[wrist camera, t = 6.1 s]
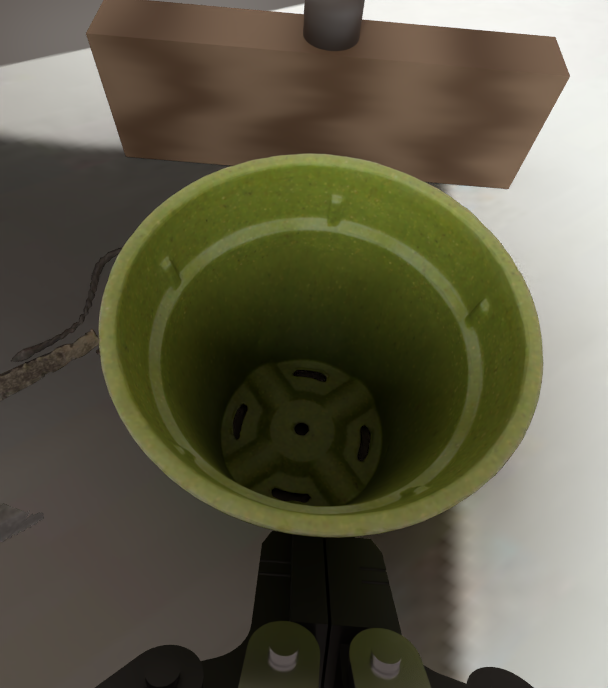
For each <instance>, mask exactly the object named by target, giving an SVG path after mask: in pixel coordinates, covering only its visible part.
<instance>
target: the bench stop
mask: <svg viewBox="0 0 608 688" xmlns="http://www.w3.org/2000/svg"><path fill="white" fill-rule="evenodd" d="M364 1H365V0H305V5H304V14H294V13H282V12H271V11H260V10H249V9H238V8H227V7H216V6H205V5H194V4H182V3H171V2H160V1H149V0H104V1H103V3H102V4H101V6H100V8H99V10H98V12H97V14H96V15H95V17H94V19H93V21H92V23H91V25H90V27H89V29H88V30H87V32H86V35H87V38H88V41H89V44H90V48H91V51H92V54H93V57H94V60H95V63H96V66H97V69H98V72H99V75H100V78H101V82H102V85H103V88H104V91H105V94H106V97H107V100H108V103H109V106H110V109H111V112H112V115H113V119H114V122H115V125H116V128H117V131H118V134H119V137H120V140H121V143H122V146H123V149H124V152H125V156H126V157H136V158H148V159H160V160H172V161H184V162H196V163H207V164H219V165H231V166H235V165H238V164H241V163H244V162H247V161H251V160H255V159H261V158H268V157H273V156H280V155H294V154H330V155H336V156H346V157H351V158H357V159H362V160H367V161H371V162H375V163H378V164H381V165H384V166H387V167H390V168H393V169H395V170H398V171H401V172H403V173H406V174H408V175H411V176H413V177H415V178H417V179H419V180H421V181H423V182H432V183H444V184H456V185H468V186H480V187H492V188H503V189H509V187H510V185H511V183H512V181H513V180H514V178H515V176H516V174H517V172H518V171H519V169H520V167H521V165H522V163H523V161H524V160H525V158H526V156H527V154H528V152H529V150H530V149H531V147H532V145H533V143H534V141H535V139H536V138H537V136H538V134H539V132H540V130H541V128H542V127H543V125H544V123H545V121H546V119H547V118H548V116H549V114H550V112H551V110H552V108H553V107H554V105H555V103H556V101H557V99H558V97H559V96H560V94H561V92H562V90H563V88H564V86H565V85H566V83H567V81H568V79H569V77H570V75H569V72H568V69H567V67H566V64H565V61H564V59H563V56H562V54H561V51H560V48H559V46H558V43H557V40H556V38H555V37H549V36H538V35H527V34H516V33H505V32H494V31H483V30H471V29H460V28H449V27H438V26H427V25H416V24H405V23H394V22H383V21H371V20H362V15H363V8H364Z"/></svg>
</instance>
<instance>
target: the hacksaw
mask: <svg viewBox="0 0 608 688" xmlns="http://www.w3.org/2000/svg"><path fill="white" fill-rule="evenodd" d="M121 250H122V248H118V249H116V250H113V251H111V252H108V253H107V254H106V255H105V256H104V257H102V258H100V260H99V262H98V263H96V265H95V270H94V271H93V273H92V277H91V280H92V281H91V283H90V290H89V295H88V299H87V300H86V306H85V308H84V314H81V315H80V318H79V322H76V323H74V324H73V325H72V327H71V328H69V329H66V330H65V331H64V332H63V333H62V334H59V335H57V336H55V337H54V338H52V339H50V340H47V341H45V342H43V343H40V344H38V345H35V346H33V347H30V348H26V349H23V350H21V351H20V352H18V353H17V354H16V355H15V356H14V357H13V358H12V360H11V361H13V362H19V361H23V360H26V359H28V358H30V357H31V356H32V355H33V354H34V353H37V352H40V351H41V350H43V349H45V348H46V347H48V346H51V345H53V344H54V343H55V342H57V341H58V340H60V339H63V338H64V337H66V336H67V335H68V334H69V333H73V332H74V331H75V330H76V328H77V327H78V326H79V325H80V324H82V323H83V321H84V319H85V316H86V315H87V314H88V310H89V308H90V307H91V306H92V300H93V299H94V296H95V292H96V290H97V285H98V282H99V275H100V274H101V271H102V269H103V267H104V265H105V263H107V262H109V261H110V259H111V258H113V257H115V256H116V255H118V254H119V253H120V251H121ZM97 345H99V338H98V337H97V335H96V333H95V331H94V330H93V329H91V331H90V332H87V333H85V335H84V336H82V337H80V338H79V339H77V340H76V341H75V342H74V343H73V344H65V345H62V346H60V347H57V348H56V349H55V350H54V351H52V352H50V353H48V354H45V355H42V356H40V357H38V358H35V359H33V360H31V361H29V362H25V363H24V364H22V365H20V366H18V367H15V368H13V369H11V370H9V371H7V372H4V373H2V374H0V401H2V400H4V399H5V398H7V397H9V396H11V395H13V394H15V393H17V392H18V391H20V390H22V389H24V388H26V387H28V386H30V385H32V384H33V383H35V382H37V381H38V380H40V379H41V378H43V377H44V376H45V374H48V373H50V372H55V371H57V370H59V369H60V368H62V367H64V366H65V365H66V364H68V363H69V362H70V361H71V360H75V359H76V358H80V357H82V356H84V355H86V354H87V353H88V352H89V351H91V350H92V349H93V348H94V347H95V346H97ZM99 349H100V348H99ZM99 349H98V350H96V353H97V354H100V351H99ZM100 357H101V356H100ZM29 512H30V511H28V512H24V511H22V510H19V509H17V508H14V507H11V506H9V505H6V504H2V505H0V541H5V539H6V538H11V537H12V536H13V535H17V534H18V533H19V532H20V531H25V529H26V528H31V525H35V524H37V523H38V521H41V520H42V519H43V518H44V516H43V513H37V514H35V515H33V514H31V515H30V516H29V517H28V518H27V516H28V514H29ZM26 518H27V519H26ZM25 519H26V520H25Z"/></svg>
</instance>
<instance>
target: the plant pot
mask: <svg viewBox="0 0 608 688" xmlns="http://www.w3.org/2000/svg"><path fill="white" fill-rule="evenodd" d="M99 348H100V356H101V365H102V370H103V374H104V378H105V381H106V384H107V388H108V391H109V394H110V396H111V399H112V401H113V403H114V405H115V407H116V410H117V412H118V414H119V416H120V418H121V419H122V421H123V423H124V424H125V426H126V428H127V429H128V431H129V432H130V434H131V436H132V437H133V439H134V440H135V441H136V443H137V444H138V445H139V447H140V448H141V449H142V451H143V452H144V453H145V454H146V455H147V456H148V457H149V458H150V459H151V460H152V461H153V462H154V463H155V464H156V465H157V466H158V467H159V468H160V469H161V470H162V471H163V472H164V473H165V474H166V475H167V476H168V477H169V478H170V479H171V480H173V481H174V482H175V483H176V484H178V485H179V486H180V487H182V488H183V489H184V490H186V491H187V492H189V493H190V494H192V495H193V496H195V497H196V498H197V499H199V500H201V501H202V502H204V503H206V504H208V505H210V506H212V507H214V508H215V509H217V510H219V511H221V512H223V513H225V514H227V515H229V516H232V517H234V518H237V519H240V520H242V521H245V522H248V523H250V524H254V525H257V526H260V527H263V528H266V529H271V530H275V531H279V532H284V533H289V534H296V535H303V536H314V537H336V538H339V537H356V536H364V535H372V534H380V533H385V532H389V531H393V530H397V529H401V528H404V527H408V526H411V525H414V524H417V523H419V522H422V521H425V520H427V519H429V518H431V517H434V516H436V515H438V514H440V513H442V512H444V511H446V510H448V509H450V508H451V507H453V506H455V505H457V504H458V503H460V502H461V501H463V500H464V499H466V498H467V497H469V496H470V495H472V494H473V493H475V492H476V491H477V490H478V489H479V488H481V487H482V486H483V485H484V484H485V483H487V482H488V481H489V480H490V479H491V478H492V477H494V476H495V475H496V474H497V472H498V471H499V470H500V469H501V468H502V467H503V466H504V465H505V463H506V462H507V461H508V459H509V458H510V457H511V456H512V454H513V453H514V451H515V450H516V449H517V447H518V446H519V444H520V443H521V441H522V439H523V438H524V435H525V433H526V431H527V429H528V427H529V425H530V422H531V420H532V417H533V415H534V412H535V409H536V406H537V403H538V399H539V394H540V388H541V383H542V375H543V353H542V338H541V331H540V326H539V320H538V315H537V312H536V308H535V305H534V302H533V299H532V297H531V294H530V291H529V289H528V287H527V285H526V283H525V280H524V278H523V276H522V274H521V273H520V272H519V271H518V269H517V267H516V265H515V264H514V262H513V260H512V258H511V257H510V255H509V254H508V253H507V251H506V250H505V249H504V247H503V245H502V244H501V243H500V242H499V240H498V239H497V238H496V237H495V236H494V235H493V234H492V233H491V231H489V230H488V229H487V228H486V227H485V226H484V225H483V224H482V223H481V222H480V221H479V220H478V218H477V217H476V216H475V215H473V214H472V213H471V212H470V211H469V210H468V209H467V208H465V207H464V206H462V205H461V204H460V203H458V202H457V201H455V200H454V199H453V198H452V197H450V196H448V195H447V194H445V193H443V192H442V191H440V190H439V189H437V188H435V187H433V186H431V185H429V184H428V183H425V182H423V181H421V180H419V179H417V178H415V177H413V176H411V175H408V174H406V173H403V172H401V171H398V170H395V169H393V168H390V167H387V166H384V165H381V164H378V163H375V162H371V161H367V160H362V159H357V158H351V157H346V156H336V155H330V154H294V155H280V156H273V157H268V158H261V159H255V160H251V161H247V162H244V163H241V164H238V165H235V166H231V167H227V168H224V169H221V170H219V171H217V172H214V173H212V174H209V175H207V176H205V177H203V178H201V179H199V180H197V181H195V182H193V183H191V184H190V185H188V186H186V187H185V188H183V189H182V190H180V191H179V192H177V193H176V194H174V195H173V196H171V197H170V198H168V199H167V200H166V201H164V202H163V203H162V204H161V205H160V206H159V207H157V208H156V209H155V210H154V211H153V212H152V213H151V214H150V215H149V216H148V217H147V218H146V219H145V220H144V221H143V222H142V223H141V224H140V225H139V227H138V228H137V229H136V231H135V232H134V233H133V234H132V236H131V237H130V238H129V239H128V240H127V242H126V243H125V245H124V247H123V248H122V250H121V251H120V253H119V254H118V256H117V258H116V261H115V263H114V265H113V267H112V270H111V273H110V276H109V279H108V282H107V285H106V287H105V290H104V294H103V297H102V303H101V308H100V314H99ZM296 370H309V371H315V372H319V373H322V374H323V375H324V376H326V378H327V381H325V382H323V381H318V380H315V379H313V378H310V377H303V376H302V377H300V376H293V373H295V372H296ZM243 404H244V405H247V407H248V410H247V412H246V414H245V417H244V420H243V423H242V427H241V432H240V438H239V439H236V437H235V436H234V434H233V421H234V417H235V414H236V412H237V409H238V408H239V407H240V406H241V405H243ZM298 423H305V424H306V425H307V426H309V431H308V433H307V434H306V435H304V436H302V435H298V434H297V433H296V432H295V425H297V424H298ZM363 425H365V426H366V427H367V428H368V429H369V432H370V435H371V440H370V445H369V452H368V455H367V457H366V459H365V460H363V461H359V460H358V458H357V455H358V451H359V447H360V442H361V434H360V429H361V427H362V426H363ZM274 488H278V489H280V490H284V491H287V492H291V493H299V494H304V493H307V494H309V496H310V497H311V499H309V501H308V502H306V503H302V502H297V501H294V500H293V501H288V502H284V501H282V500H279V499H277V498H275V497H273V496H272V492H271V490H272V489H274Z"/></svg>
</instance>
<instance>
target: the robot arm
mask: <svg viewBox="0 0 608 688" xmlns="http://www.w3.org/2000/svg"><path fill="white" fill-rule="evenodd" d="M95 688H533V687H532V686H531V685H530V684H528V683H527V682H526V681H524V680H523V679H522V678H520V677H519V676H517V675H515V674H513V673H511V672H509V671H507V670H504V669H501V668H495V667H484V668H480V669H477V670H475V671H474V672H472V674H471V675H470V676H469V678H468V680H467V684H465V683H463V682H460V681H457V680H455V679H452V678H449V677H446V676H444V675H441V674H439V673H436V672H434V671H432V670H431V669H429V668H427V667H426V666H424V665H423V663H422V660H421V657H420V655H419V653H418V651H417V650H416V648H415V647H414V646H413V645H412V643H411V642H410V641H408V640H407V639H406V638H405V637H403V636H402V634H401V630H400V626H399V622H398V618H397V614H396V609H395V605H394V601H393V597H392V593H391V589H390V586H389V580H388V576H387V572H386V568H385V564H384V560H383V555H382V553H381V551H380V550H379V549H378V548H377V546H376V545H375V544H374V543H373V541H372V540H371V539H363V538H355V537H339V538H336V537H314V536H303V535H296V534H289V533H284V532H277V531H272V532H271V533H270V534H269V536H268V537H267V538H266V539H265V541H264V542H263V543H262V548H261V556H260V563H259V571H258V579H257V586H256V594H255V602H254V609H253V617H252V624H251V629H250V632H249V634H248V636H247V637H246V639H245V640H244V641H243V643H242V644H241V645H240V646H238V647H237V648H236V649H235V650H233V651H231V652H230V653H228V654H226V655H223V656H220V657H217V658H213V659H208V660H204V661H200V660H199V658H198V657H197V656H196V655H195V653H193V652H192V651H191V650H189V649H187V648H185V647H182V646H178V645H163V646H158V647H155V648H152V649H150V650H147V651H145V652H144V653H142V654H141V655H139V656H138V657H136V658H135V659H134V660H132V661H131V662H129V663H128V664H127V665H125V666H124V667H123V668H121V669H120V670H118V671H117V672H116V673H114V674H113V675H112V676H110V677H109V678H108V679H106V680H105V681H103V682H102V683H101V684H99V685H98V686H97V687H95Z"/></svg>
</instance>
